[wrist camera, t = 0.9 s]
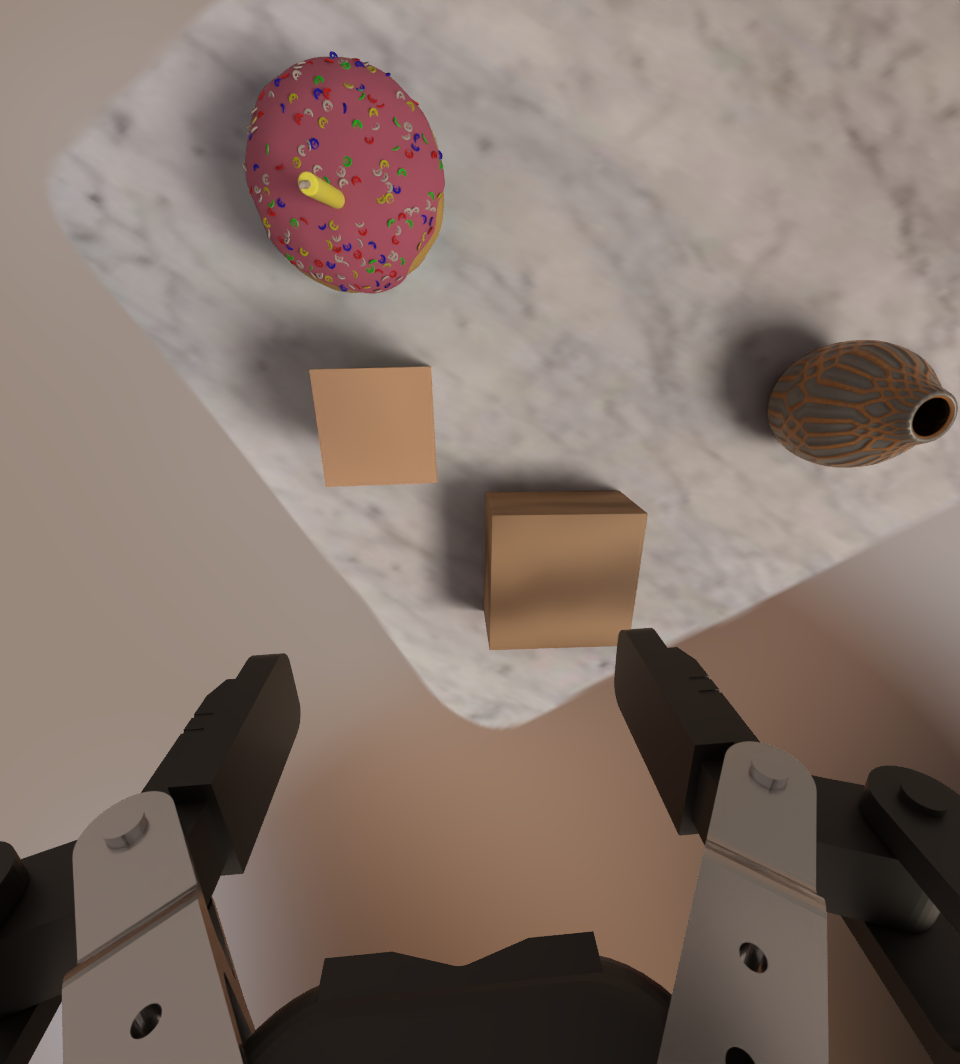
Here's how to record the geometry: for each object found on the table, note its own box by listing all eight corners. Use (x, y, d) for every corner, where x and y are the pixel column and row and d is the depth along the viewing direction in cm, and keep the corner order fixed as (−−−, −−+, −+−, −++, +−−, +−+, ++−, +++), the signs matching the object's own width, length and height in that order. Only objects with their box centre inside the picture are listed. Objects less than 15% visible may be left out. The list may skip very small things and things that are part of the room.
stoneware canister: (342, 364, 27) (309, 369, 21) (434, 362, 28) (430, 366, 21) (353, 456, 29) (326, 486, 23) (439, 453, 30) (437, 482, 23)
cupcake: (441, 308, 27) (438, 277, 16) (288, 295, 26) (168, 254, 15) (448, 120, 24) (449, -85, 12) (274, 100, 23) (110, -137, 12)
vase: (765, 471, 32) (876, 513, 23) (734, 378, 29) (845, 389, 21) (864, 419, 31) (1015, 443, 23) (840, 319, 28) (999, 306, 20)
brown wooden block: (485, 491, 31) (492, 515, 26) (617, 489, 32) (647, 513, 27) (483, 609, 34) (489, 649, 30) (604, 606, 35) (628, 645, 30)
